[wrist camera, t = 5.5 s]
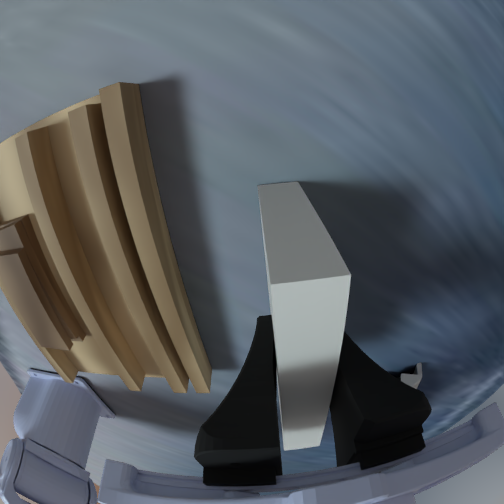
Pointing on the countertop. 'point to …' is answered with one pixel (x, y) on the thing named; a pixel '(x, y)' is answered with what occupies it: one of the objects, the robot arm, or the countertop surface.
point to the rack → (105, 241)
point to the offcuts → (35, 287)
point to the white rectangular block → (303, 309)
